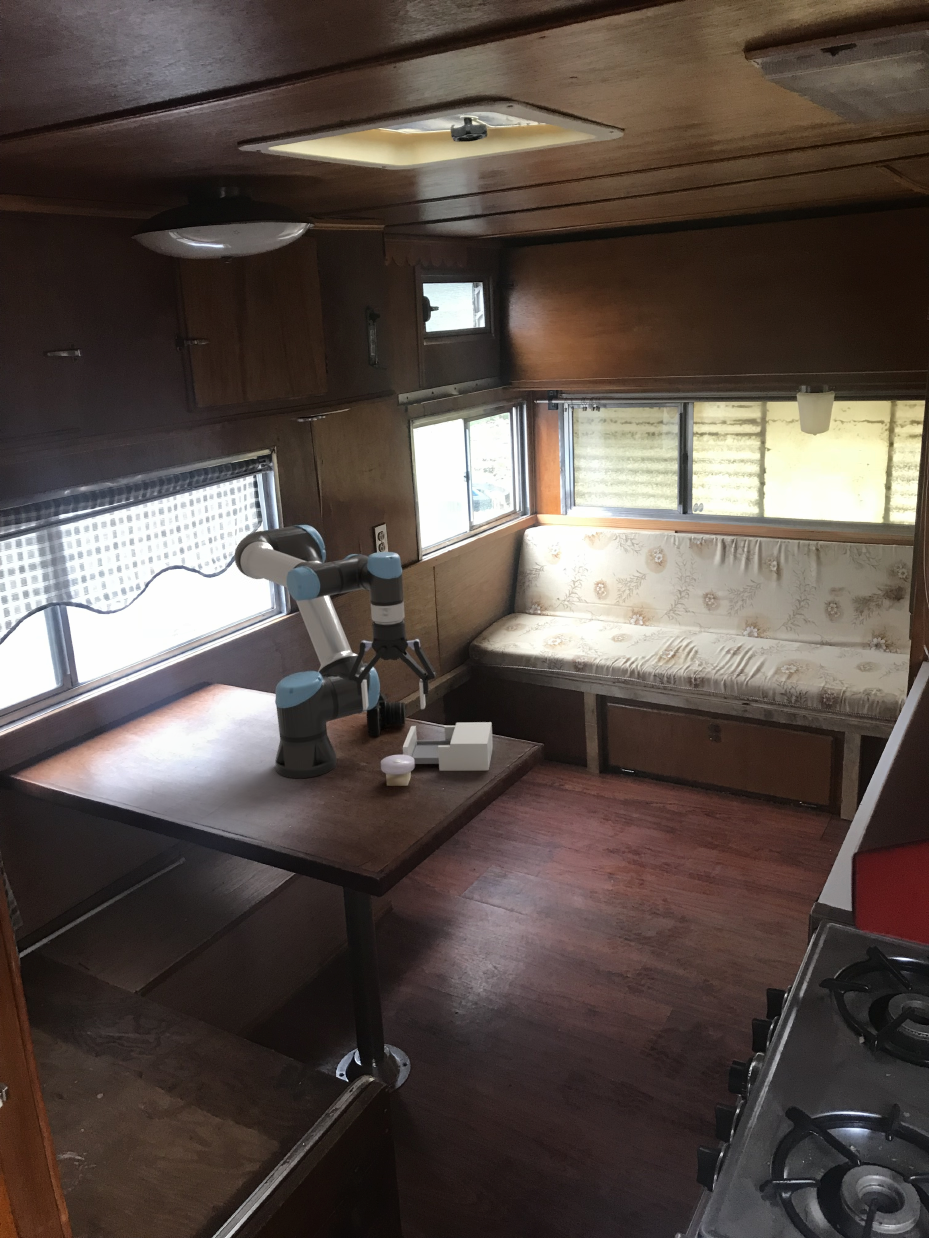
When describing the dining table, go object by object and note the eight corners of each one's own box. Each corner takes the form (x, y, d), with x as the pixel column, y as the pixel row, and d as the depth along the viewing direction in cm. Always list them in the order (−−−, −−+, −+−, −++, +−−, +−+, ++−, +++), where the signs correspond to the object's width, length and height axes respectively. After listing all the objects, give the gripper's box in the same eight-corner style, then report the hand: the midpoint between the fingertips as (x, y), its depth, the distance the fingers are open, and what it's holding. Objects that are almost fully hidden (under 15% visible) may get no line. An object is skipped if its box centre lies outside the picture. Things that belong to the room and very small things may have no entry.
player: (439, 770, 241) (437, 743, 239) (446, 748, 254) (444, 722, 253) (488, 770, 240) (487, 743, 238) (492, 747, 253) (491, 722, 251)
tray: (401, 769, 242) (400, 747, 241) (410, 747, 255) (409, 726, 254) (452, 769, 241) (450, 746, 239) (458, 747, 254) (456, 725, 252)
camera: (403, 736, 264) (401, 701, 261) (364, 738, 264) (361, 703, 262) (407, 717, 277) (405, 684, 275) (369, 719, 278) (366, 685, 275)
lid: (378, 774, 232) (377, 768, 232) (384, 760, 240) (384, 754, 239) (412, 774, 231) (411, 768, 231) (417, 760, 239) (416, 754, 238)
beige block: (386, 785, 234) (385, 771, 233) (390, 776, 239) (389, 763, 238) (407, 785, 234) (406, 771, 233) (410, 776, 238) (410, 763, 238)
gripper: (331, 625, 224) (338, 713, 229) (440, 623, 221) (445, 712, 227) (338, 617, 231) (345, 702, 236) (444, 614, 228) (448, 701, 234)
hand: (394, 707), depth 232 cm, fingers open, 13 cm apart
